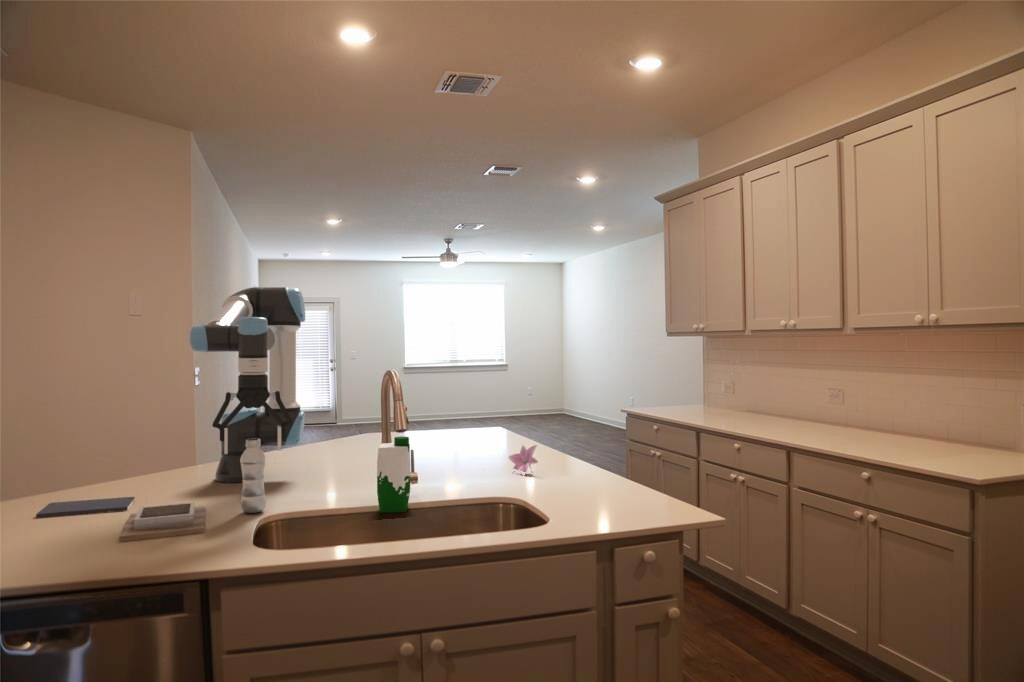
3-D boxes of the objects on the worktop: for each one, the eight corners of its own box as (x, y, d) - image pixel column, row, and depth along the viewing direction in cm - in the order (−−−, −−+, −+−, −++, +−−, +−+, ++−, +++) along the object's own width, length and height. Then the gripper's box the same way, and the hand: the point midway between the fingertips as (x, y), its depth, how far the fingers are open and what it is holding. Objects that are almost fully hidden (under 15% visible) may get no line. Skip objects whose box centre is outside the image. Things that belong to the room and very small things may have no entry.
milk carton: (409, 513, 182) (409, 439, 182) (375, 513, 181) (375, 440, 181) (411, 504, 191) (411, 435, 191) (379, 505, 190) (379, 435, 190)
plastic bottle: (257, 516, 179) (257, 441, 178) (235, 514, 180) (235, 440, 180) (271, 510, 185) (271, 438, 185) (249, 508, 186) (249, 437, 186)
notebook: (36, 519, 177) (127, 512, 184) (36, 513, 177) (127, 506, 184) (50, 508, 189) (135, 501, 196) (50, 502, 189) (135, 496, 196)
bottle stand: (130, 518, 177) (130, 504, 177) (205, 510, 184) (205, 497, 184) (119, 541, 157) (119, 526, 157) (204, 532, 164) (204, 517, 164)
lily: (507, 472, 241) (500, 451, 237) (536, 458, 244) (529, 437, 240) (520, 489, 231) (513, 467, 227) (550, 474, 234) (544, 452, 230)
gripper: (202, 375, 174) (202, 456, 174) (302, 373, 184) (302, 450, 184) (203, 374, 180) (202, 452, 180) (299, 372, 191) (299, 446, 190)
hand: (253, 451), depth 182 cm, fingers open, 13 cm apart
